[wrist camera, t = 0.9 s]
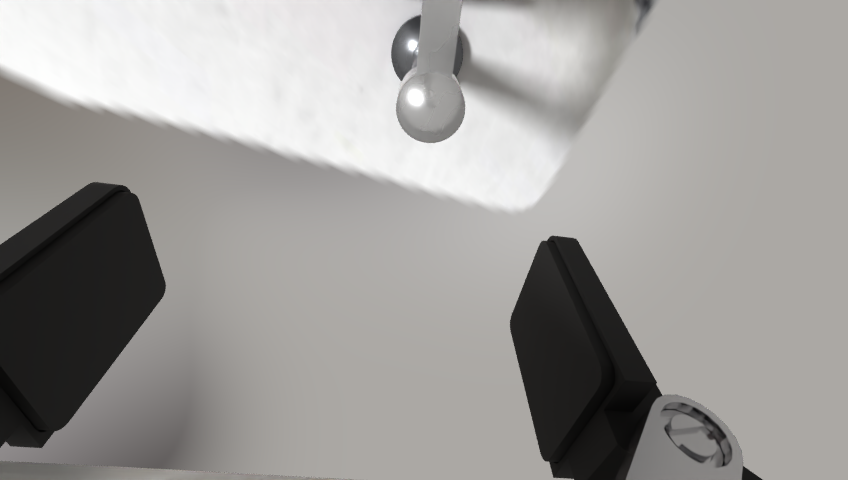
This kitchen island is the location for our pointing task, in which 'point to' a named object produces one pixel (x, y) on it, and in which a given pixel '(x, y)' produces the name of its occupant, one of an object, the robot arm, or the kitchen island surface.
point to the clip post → (414, 48)
